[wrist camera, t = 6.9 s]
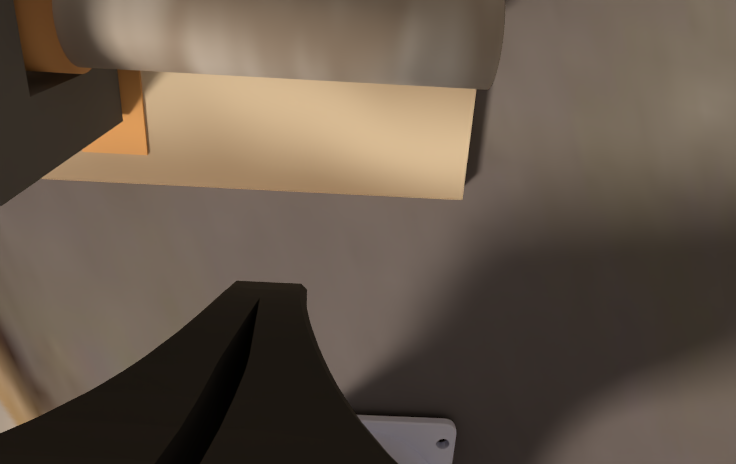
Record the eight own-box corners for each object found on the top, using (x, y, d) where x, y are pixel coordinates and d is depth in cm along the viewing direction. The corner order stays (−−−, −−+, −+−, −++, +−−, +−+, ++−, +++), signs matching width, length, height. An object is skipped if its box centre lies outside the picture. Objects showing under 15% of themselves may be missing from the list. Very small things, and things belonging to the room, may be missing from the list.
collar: (123, 121, 18) (1, 206, 12) (69, 118, 18) (-81, 202, 12) (93, -141, 16) (-84, -203, 9) (30, -146, 16) (-191, -209, 9)
